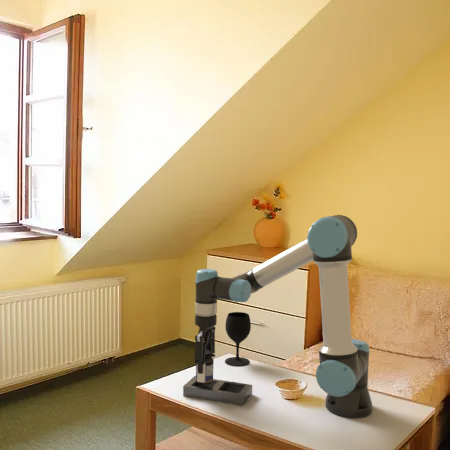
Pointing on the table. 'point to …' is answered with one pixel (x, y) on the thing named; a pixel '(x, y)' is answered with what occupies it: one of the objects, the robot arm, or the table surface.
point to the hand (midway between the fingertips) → (204, 378)
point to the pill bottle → (207, 368)
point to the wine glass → (238, 335)
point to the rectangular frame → (219, 391)
